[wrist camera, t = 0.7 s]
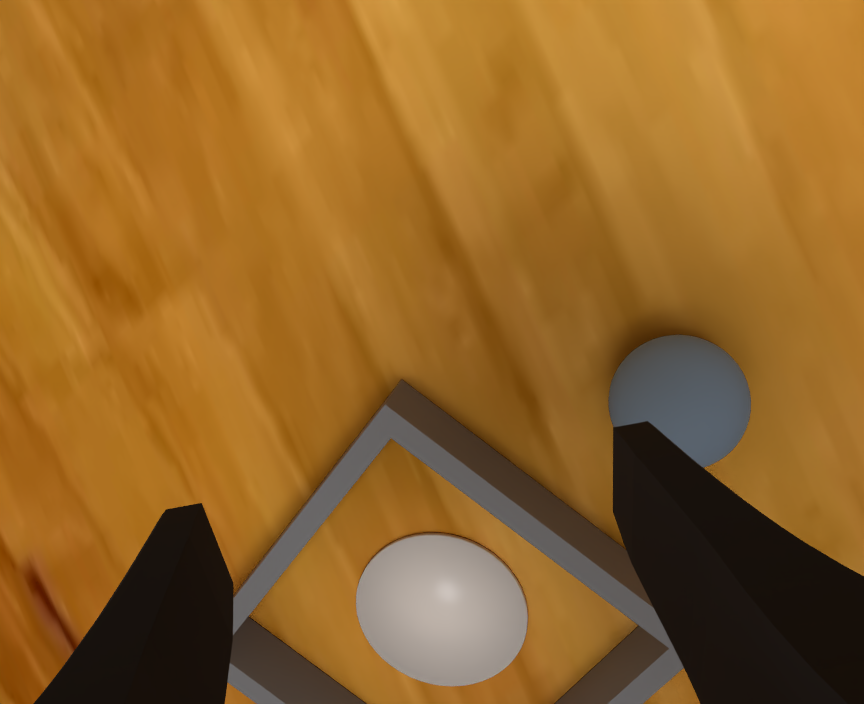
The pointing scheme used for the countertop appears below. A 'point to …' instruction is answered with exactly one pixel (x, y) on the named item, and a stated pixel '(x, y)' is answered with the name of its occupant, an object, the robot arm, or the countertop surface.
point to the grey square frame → (450, 579)
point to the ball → (684, 395)
